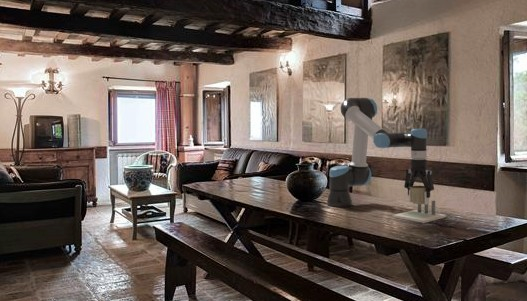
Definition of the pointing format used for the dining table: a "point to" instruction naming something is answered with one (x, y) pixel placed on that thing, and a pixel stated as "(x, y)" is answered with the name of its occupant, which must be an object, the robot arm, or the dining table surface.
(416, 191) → the flower pot
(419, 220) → the board
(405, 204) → the dining table surface
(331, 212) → the dining table surface
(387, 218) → the dining table surface
